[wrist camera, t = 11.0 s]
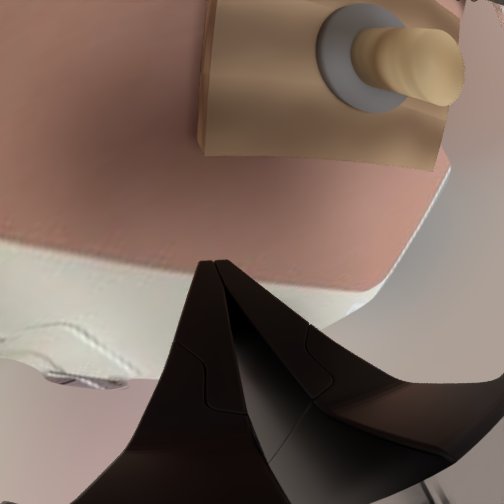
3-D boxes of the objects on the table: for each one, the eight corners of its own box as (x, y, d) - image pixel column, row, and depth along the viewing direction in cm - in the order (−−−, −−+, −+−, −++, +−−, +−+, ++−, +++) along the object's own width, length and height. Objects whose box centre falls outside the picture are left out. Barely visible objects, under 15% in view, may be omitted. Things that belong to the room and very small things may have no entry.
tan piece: (368, 108, 19) (466, 148, 12) (284, 93, 17) (375, 122, 10) (379, 27, 15) (484, 35, 8) (295, -1, 13) (394, -29, 6)
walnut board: (402, 155, 23) (432, 171, 20) (196, 139, 18) (204, 156, 15) (425, 16, 15) (460, 18, 12) (215, -52, 10) (229, -76, 7)
